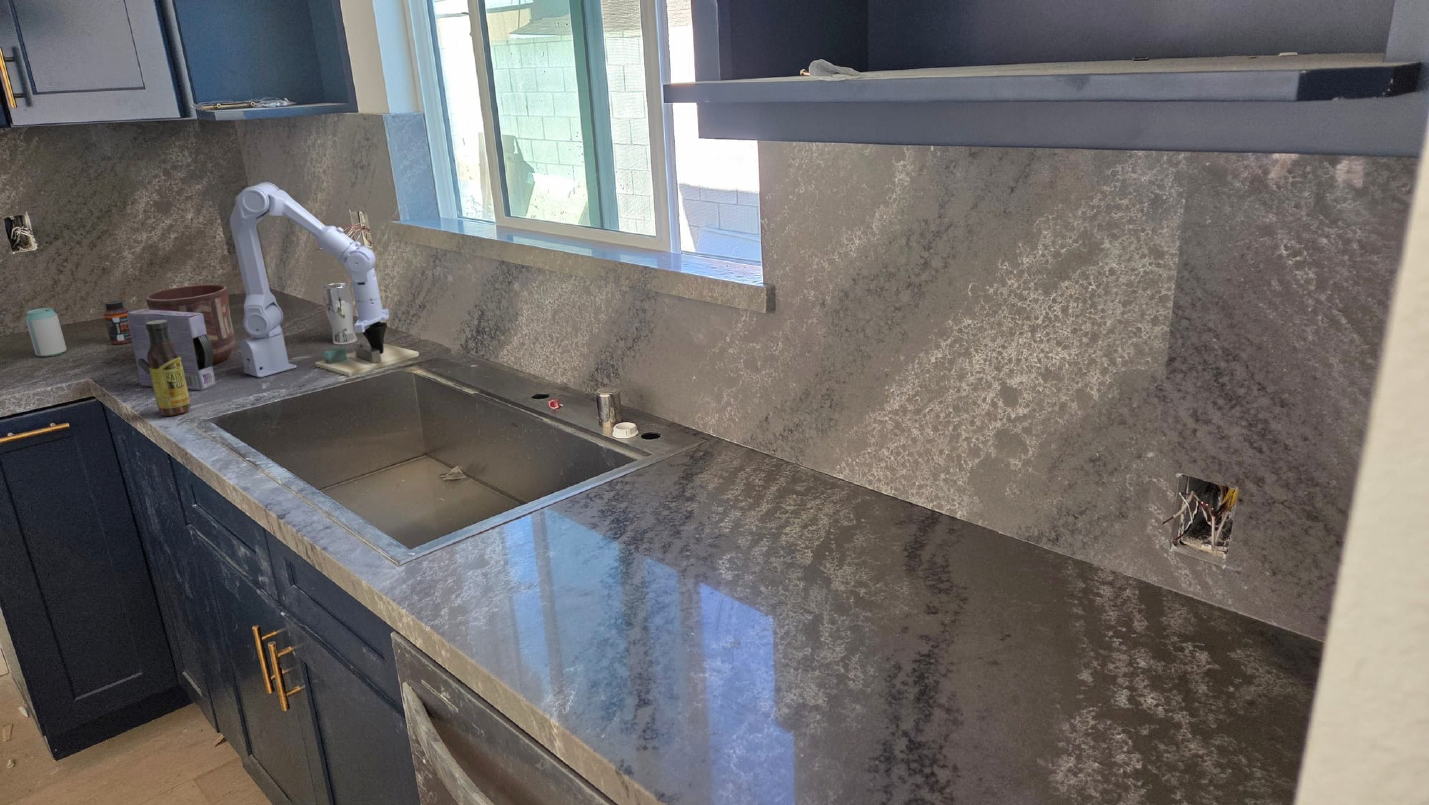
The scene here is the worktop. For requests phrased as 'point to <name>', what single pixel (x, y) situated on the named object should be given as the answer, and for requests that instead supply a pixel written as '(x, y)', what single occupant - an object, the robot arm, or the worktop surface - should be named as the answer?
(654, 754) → the worktop surface
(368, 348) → the swing bar
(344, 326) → the beer glass
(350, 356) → the board
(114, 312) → the supplement bottle
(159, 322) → the sauce bottle
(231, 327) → the pottery
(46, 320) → the can
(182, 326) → the cake pan box
